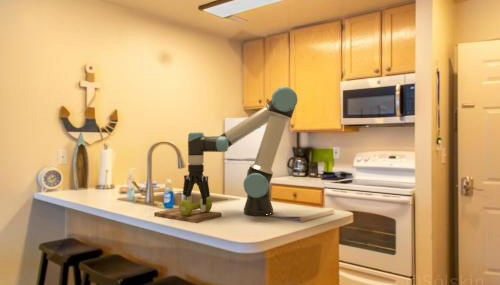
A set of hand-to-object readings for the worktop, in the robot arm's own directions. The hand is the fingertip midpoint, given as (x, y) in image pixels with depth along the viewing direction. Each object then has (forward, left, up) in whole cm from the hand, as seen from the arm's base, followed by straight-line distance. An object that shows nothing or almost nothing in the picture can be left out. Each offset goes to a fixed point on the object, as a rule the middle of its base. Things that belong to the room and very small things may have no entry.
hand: (196, 210), depth 180 cm
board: (+5, 0, -3) cm, 6 cm away
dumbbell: (0, 0, -2) cm, 2 cm away
